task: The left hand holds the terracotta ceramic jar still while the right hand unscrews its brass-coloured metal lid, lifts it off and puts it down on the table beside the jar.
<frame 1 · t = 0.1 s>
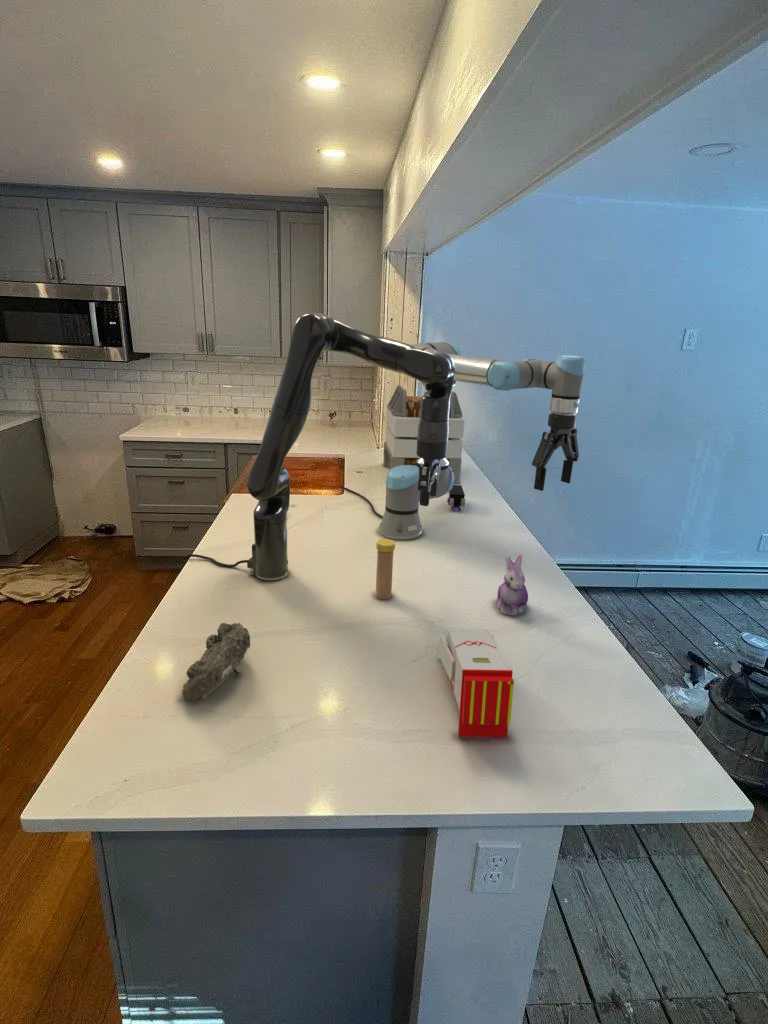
left hand: (428, 500, 144), 29 cm above the counter, tool pointing down, fingers open, 8 cm apart
right hand: (552, 485, 166), 28 cm above the counter, tool pointing down, fingers open, 13 cm apart
toy: (469, 691, 119), on the counter
lid: (385, 543, 151), point 16 cm above the counter, screwed on, not yet turned
figurine character: (454, 506, 230), on the counter
white storage crate: (419, 473, 275), on the counter
jar: (383, 595, 157), on the counter
fossil: (221, 673, 121), on the counter
figurine: (511, 608, 153), on the counter
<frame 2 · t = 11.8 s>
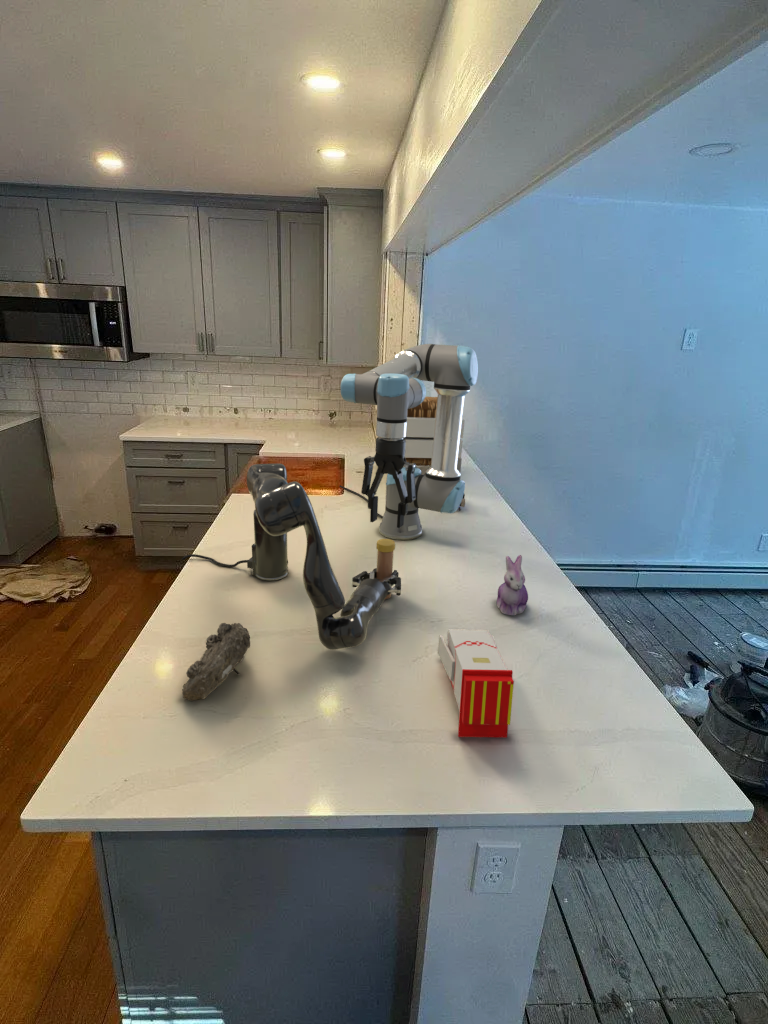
left hand: (387, 571, 157), 6 cm above the counter, tool horizontal, fingers closed on jar, 4 cm apart
right hand: (386, 523, 149), 21 cm above the counter, tool pointing down, fingers open, 7 cm apart
jar: (383, 595, 157), on the counter, touching left hand
everything else where it was.
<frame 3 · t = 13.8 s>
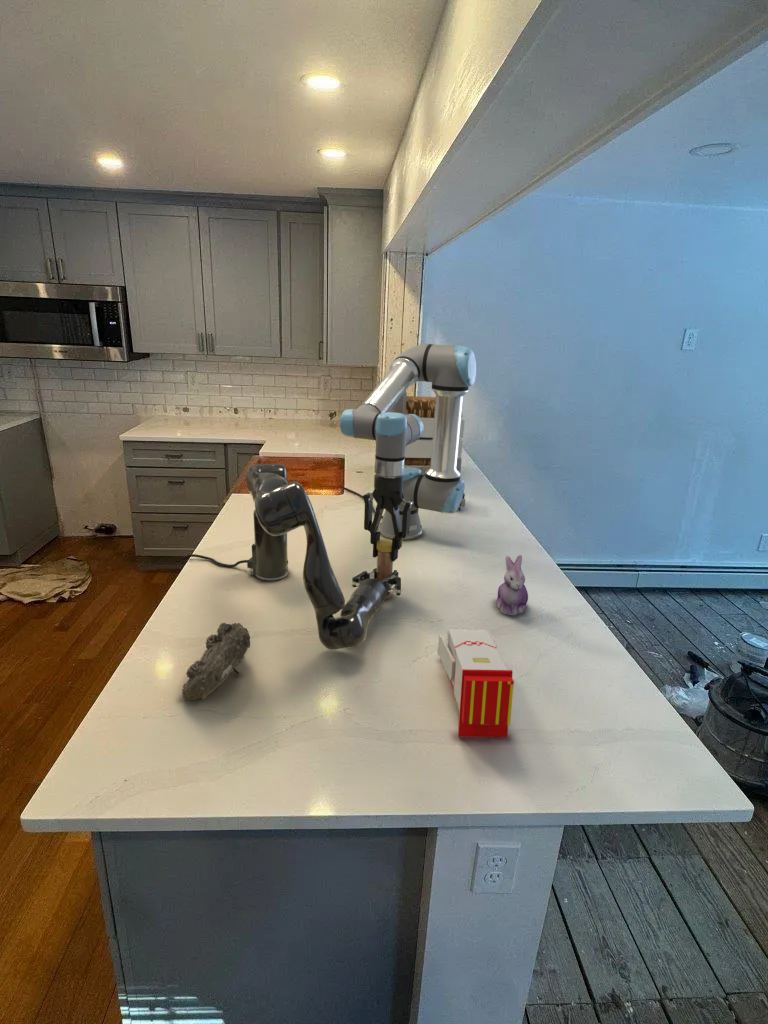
left hand: (387, 571, 157), 6 cm above the counter, tool horizontal, fingers closed on jar, 4 cm apart
right hand: (385, 557, 153), 12 cm above the counter, tool pointing down, fingers closed on lid, 5 cm apart
lid: (385, 543, 151), point 16 cm above the counter, screwed on, not yet turned, touching right hand
jar: (383, 595, 157), on the counter, touching left hand
everything else where it was.
when the right hand's fingers open (12 cm above the counter, at t = 15.0 s): lid stays where it is, point 16 cm above the counter.
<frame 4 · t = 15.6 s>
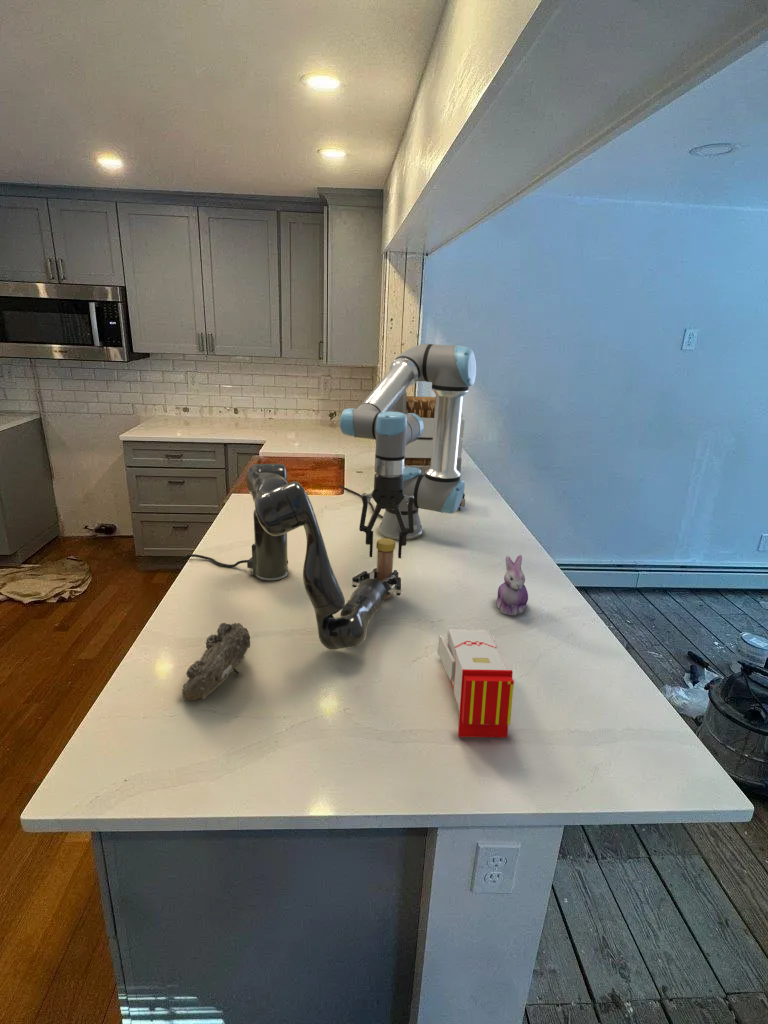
left hand: (387, 571, 157), 6 cm above the counter, tool horizontal, fingers closed on jar, 4 cm apart
right hand: (385, 555, 153), 12 cm above the counter, tool pointing down, fingers open, 7 cm apart
lid: (385, 542, 151), point 16 cm above the counter, turned 86° so far, risen 0.2 cm, still on its thread
jar: (383, 595, 157), on the counter, touching left hand
everything else where it was.
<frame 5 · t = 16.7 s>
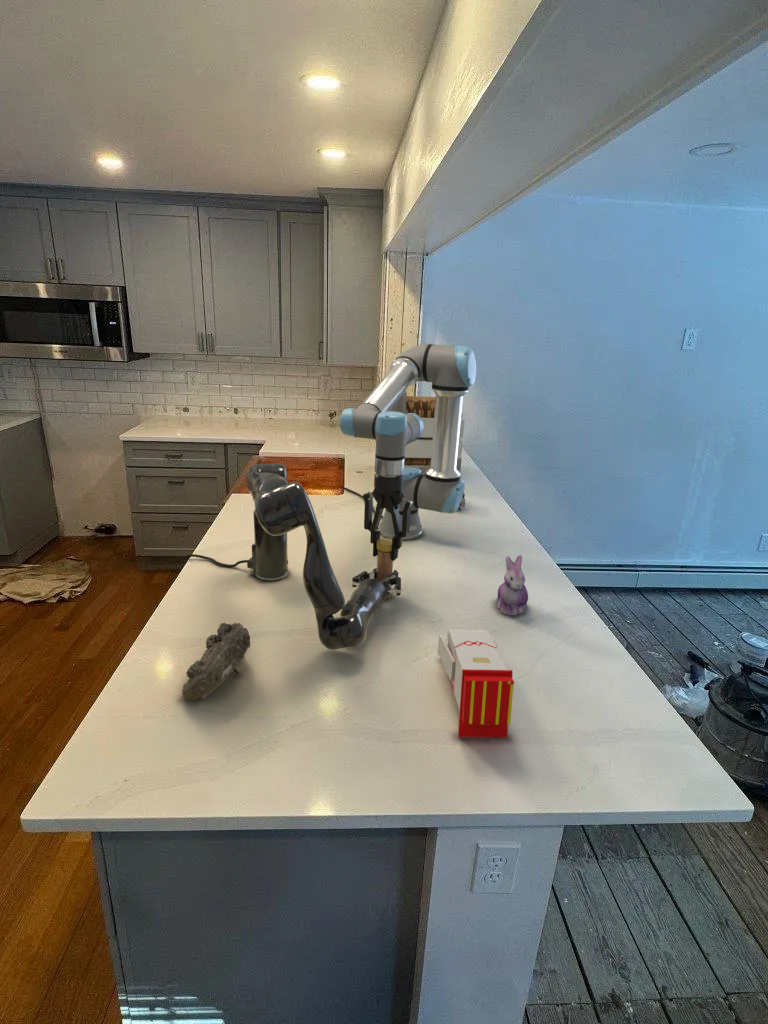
left hand: (387, 571, 157), 6 cm above the counter, tool horizontal, fingers closed on jar, 4 cm apart
right hand: (385, 556, 153), 12 cm above the counter, tool pointing down, fingers closed on lid, 5 cm apart
lid: (385, 542, 151), point 16 cm above the counter, turned 86° so far, risen 0.2 cm, still on its thread, touching right hand
jar: (383, 595, 157), on the counter, touching left hand
everything else where it was.
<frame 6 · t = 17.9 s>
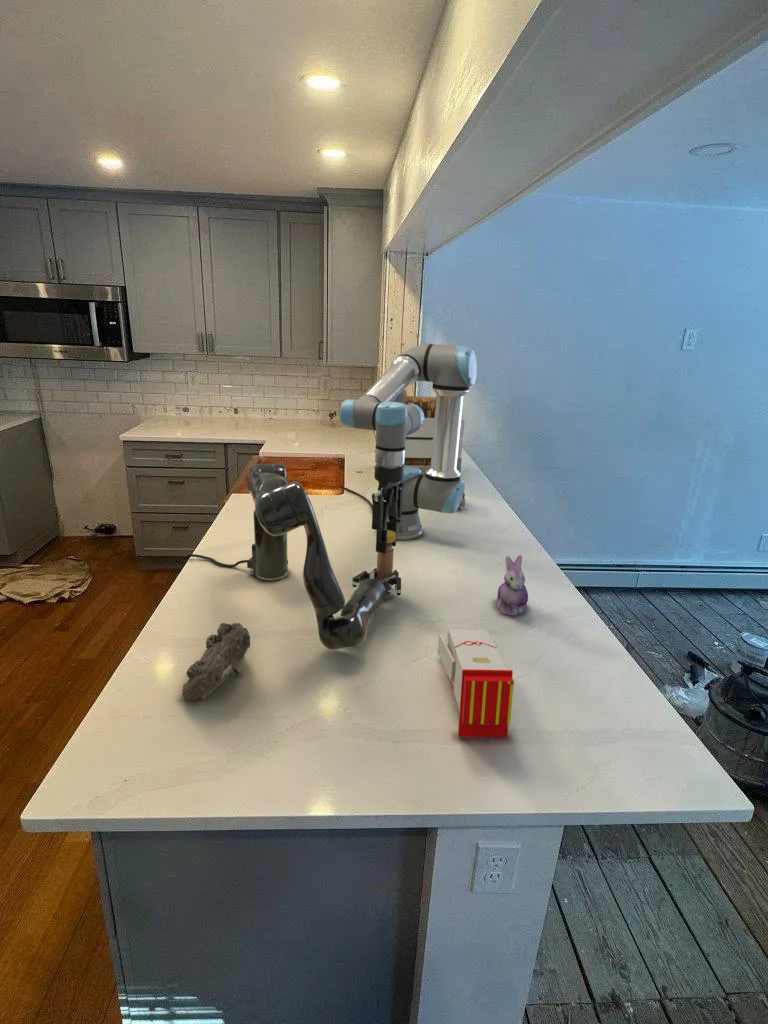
left hand: (387, 571, 157), 6 cm above the counter, tool horizontal, fingers closed on jar, 4 cm apart
right hand: (385, 548, 152), 14 cm above the counter, tool pointing down, fingers closed on lid, 5 cm apart
lid: (386, 534, 151), point 18 cm above the counter, off its thread, touching right hand
jar: (383, 595, 157), on the counter, touching right hand, left hand
everything else where it was.
when the right hand's fingers open (0 cm above the counter, at t = 22.6 s): lid drops 2 cm, point 2 cm above the counter.
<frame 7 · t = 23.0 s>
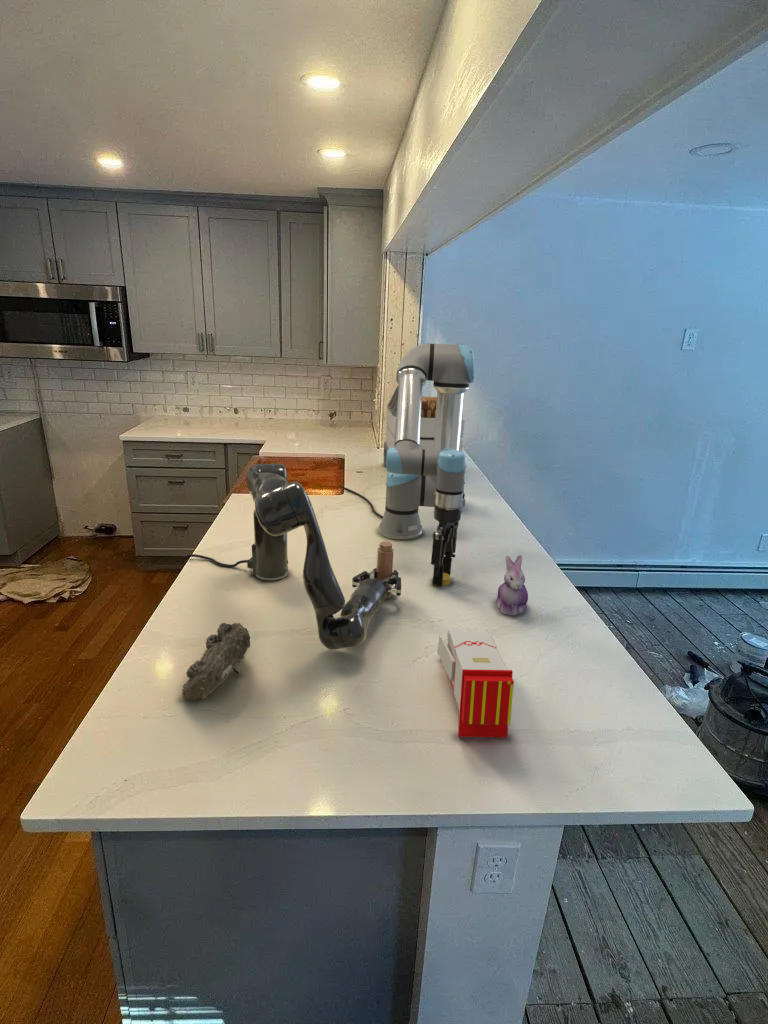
left hand: (387, 571, 157), 6 cm above the counter, tool horizontal, fingers closed on jar, 4 cm apart
right hand: (441, 581, 166), 0 cm above the counter, tool pointing down, fingers open, 5 cm apart
lid: (442, 576, 166), point 2 cm above the counter, off its thread
jar: (383, 595, 157), on the counter, touching left hand
everything else where it was.
when the left hand's fingers open (6 cm above the counter, at t = 23.5 s): jar stays where it is, on the counter.
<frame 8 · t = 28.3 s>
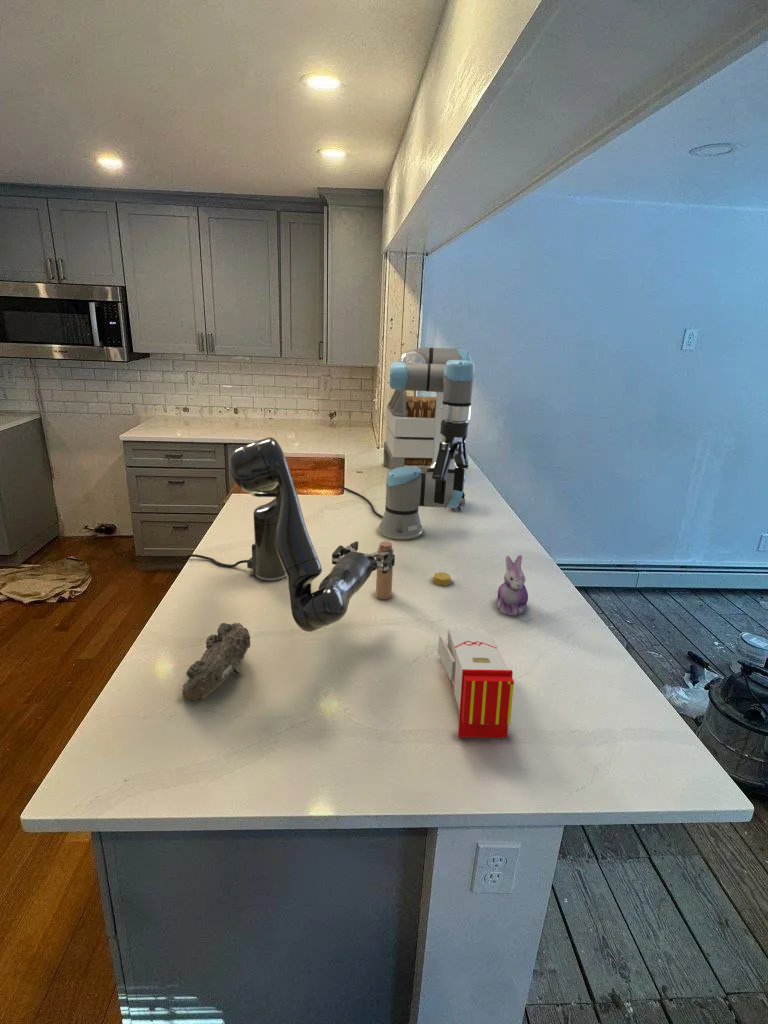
left hand: (373, 547, 140), 19 cm above the counter, tool horizontal, fingers open, 8 cm apart
right hand: (448, 496, 158), 26 cm above the counter, tool pointing down, fingers open, 13 cm apart
jar: (383, 595, 157), on the counter
everything else where it was.
at the end: lid came off its thread; lid point 1.6 cm above the counter; the left hand is holding nothing; the right hand is holding nothing; jar tilted 0°; jar moved 0.0 cm from its start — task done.
